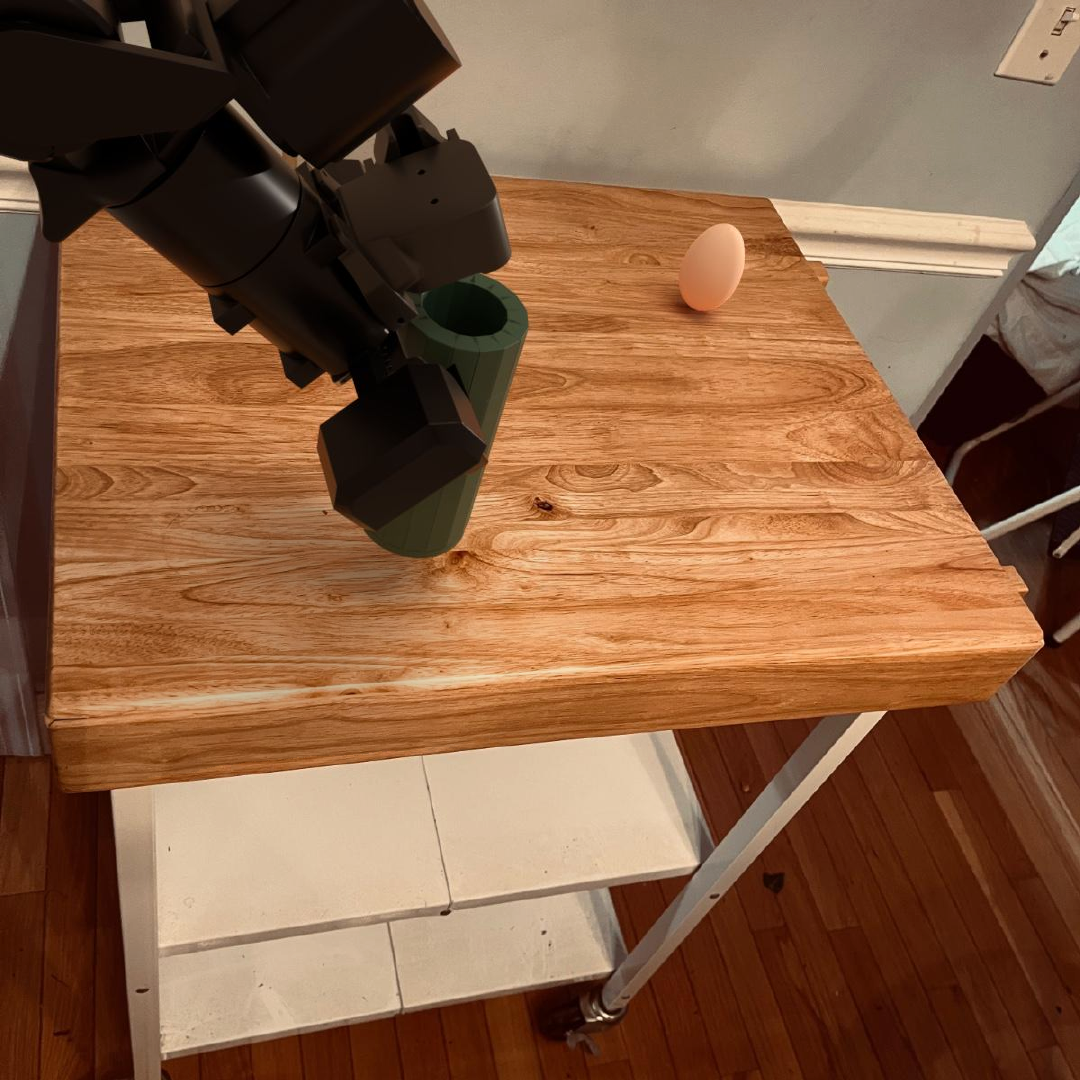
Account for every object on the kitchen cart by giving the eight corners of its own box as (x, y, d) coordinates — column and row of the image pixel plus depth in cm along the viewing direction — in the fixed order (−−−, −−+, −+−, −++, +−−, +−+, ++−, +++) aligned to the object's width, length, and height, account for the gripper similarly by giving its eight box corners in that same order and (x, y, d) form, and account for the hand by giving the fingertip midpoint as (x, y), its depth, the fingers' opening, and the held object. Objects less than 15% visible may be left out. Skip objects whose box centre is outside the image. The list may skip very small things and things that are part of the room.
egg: (734, 322, 85) (771, 243, 79) (687, 328, 83) (721, 247, 77) (704, 285, 87) (737, 206, 82) (657, 290, 85) (688, 209, 80)
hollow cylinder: (355, 552, 55) (398, 338, 45) (360, 471, 58) (400, 257, 48) (466, 564, 56) (533, 360, 46) (464, 484, 60) (524, 279, 50)
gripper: (485, 247, 33) (674, 471, 45) (355, -27, 44) (537, 214, 56) (216, 441, 36) (464, 603, 48) (155, 138, 46) (371, 334, 59)
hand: (462, 421), depth 53 cm, fingers closed on hollow cylinder, 6 cm apart
